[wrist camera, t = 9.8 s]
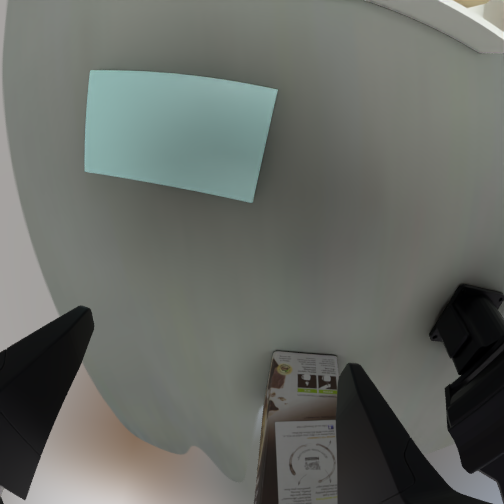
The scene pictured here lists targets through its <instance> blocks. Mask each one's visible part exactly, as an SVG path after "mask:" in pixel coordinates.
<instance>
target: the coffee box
mask: <svg viewBox="0 0 504 504" xmlns="http://www.w3.org/2000/svg"><path fill="white" fill-rule="evenodd" d="M338 379H339V372H338V362H337V357H336V356H330V355H315V354H303V353H292V352H282V351H275V352H274V353H273V356H272V361H271V367H270V372H269V378H268V383H267V388H266V393H265V398H264V407H263V418H262V428H261V439H260V449H259V459H258V469H257V480H256V490H255V500H254V504H337V445H336V406H337V389H338Z"/></svg>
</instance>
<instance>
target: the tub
mask: <svg viewBox="0 0 504 504" xmlns="http://www.w3.org/2000/svg"><path fill="white" fill-rule="evenodd" d="M364 1H367V2H370V3H373V4H376V5H379V6H382V7H384V8H387V9H390V10H392V11H395V12H397V13H400V14H402V15H405V16H407V17H410V18H412V19H414V20H417V21H419V22H421V23H423V24H425V25H428V26H430V27H432V28H434V29H436V30H438V31H440V32H442V33H444V34H446V35H448V36H450V37H452V38H453V39H455V40H457V41H459V42H461V43H463V44H464V45H466V46H468V47H470V48H471V49H473V50H475V51H476V52H478V53H504V0H364Z"/></svg>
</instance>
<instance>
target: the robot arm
mask: <svg viewBox="0 0 504 504" xmlns="http://www.w3.org/2000/svg"><path fill="white" fill-rule="evenodd" d="M462 290H463V291H462ZM503 300H504V295H503V293H500V292H496V291H492V290H487V289H483V288H479V287H474V286H470V285H466V284H463V285H461V286H459V288H458V289H457V291H456V293H455V294H454V296H453V298H452V300H451V301H450V303H449V305H448V306H447V308H446V309H445V311H444V313H443V314H442V316H441V317H440V319H439V321H438V322H437V324H436V325H435V327H434V328H433V330H432V331H431V333H430V335H429V337H430V339H431V340H432V341H440V342H443V343H444V345H445V348H446V350H447V352H448V355H449V357H450V358H452V360H453V362H454V365H455V367H456V370H457V372H458V375H461V376H460V377H459V378H458V379H457V380H455V381H454V382H453V383H452V384H449V385H448V386H447V387H446V388H445V397H446V412H447V427H448V431H449V433H450V435H451V436H452V438H453V439H454V441H455V444H456V446H457V448H458V452H459V455H460V459H461V464H462V467H463V468H464V469H465V470H466V471H467V472H468V473H470V474H472V473H474V472H475V471H480V472H481V473H483V474H484V475H486V476H488V477H489V478H491V479H493V480H494V481H496V482H497V484H498V487H499V490H500V493H501V497H502V500H503V503H504V319H503V317H502V316H501V314H500V313H499V311H498V308H499V307H500V305H501V304H502V302H503ZM93 330H94V321H93V316H92V312H91V309H90V308H88V307H85V306H78V307H76V308H74V309H73V310H71V311H69V312H67V313H66V314H64V315H62V316H60V317H59V318H57V319H55V320H54V321H52V322H50V323H48V324H47V325H45V326H43V327H42V328H40V329H39V330H37V331H35V332H33V333H32V334H30V335H28V336H27V337H25V338H23V339H22V340H20V341H18V342H17V343H15V344H13V345H12V346H10V347H8V348H7V350H3V351H2V352H0V504H4V503H3V501H2V498H1V494H2V492H3V489H4V488H5V489H7V490H9V491H10V492H12V493H13V494H15V495H17V496H19V497H20V498H22V499H24V500H25V499H26V497H27V494H28V491H29V488H30V485H31V482H32V479H33V477H34V473H35V471H36V468H37V466H38V463H39V460H40V457H41V456H40V455H41V454H42V452H43V449H44V447H45V444H46V442H47V439H48V437H49V434H50V432H51V429H52V427H53V425H54V422H55V420H56V417H57V415H58V413H59V411H60V408H61V406H62V404H63V402H64V400H65V397H66V395H67V393H68V391H69V388H70V387H71V384H72V382H73V380H74V378H75V376H76V374H77V372H78V370H79V367H80V365H81V363H82V360H83V357H84V355H85V352H86V349H87V346H88V344H89V341H90V338H91V336H92V333H93ZM336 445H337V504H492V503H488V502H485V501H482V500H478V499H475V498H472V497H469V496H466V495H463V494H460V493H458V492H456V491H455V490H453V489H452V488H451V487H450V486H449V485H448V484H447V483H446V482H445V481H444V479H443V478H442V477H441V476H440V475H439V474H438V472H437V471H436V470H435V469H434V468H433V466H432V465H431V464H430V463H429V462H428V460H427V459H426V458H425V457H424V455H423V454H422V453H421V451H420V450H419V448H418V447H417V446H416V444H415V443H414V441H413V440H412V438H410V436H409V434H408V433H407V431H406V430H405V428H404V427H403V425H402V424H401V422H400V421H399V420H398V418H397V417H396V415H395V414H394V412H393V411H392V409H391V408H390V407H389V405H388V404H387V402H386V401H385V399H384V398H383V396H382V395H381V394H380V392H379V391H378V389H377V388H376V386H375V385H374V384H373V382H372V381H371V379H370V378H369V377H368V375H367V374H366V372H365V371H364V369H363V368H362V367H361V365H359V364H356V363H348V364H347V365H346V367H345V368H344V370H343V372H342V373H341V375H340V377H339V379H338V389H337V406H336Z"/></svg>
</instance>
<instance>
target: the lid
mask: <svg viewBox="0 0 504 504" xmlns="http://www.w3.org/2000/svg"><path fill="white" fill-rule="evenodd" d="M277 91H278V89H274V88H269V87H264V86H259V85H254V84H249V83H243V82H237V81H231V80H225V79H218V78H211V77H204V76H196V75H187V74H177V73H166V72H152V71H132V70H90V77H89V87H88V97H87V110H86V127H85V172H91V173H97V174H103V175H109V176H115V177H121V178H127V179H133V180H139V181H144V182H150V183H155V184H161V185H166V186H171V187H177V188H182V189H187V190H192V191H197V192H202V193H207V194H212V195H217V196H221V197H226V198H231V199H236V200H240V201H245V202H249V203H253V199H254V194H255V190H256V185H257V181H258V176H259V172H260V167H261V163H262V158H263V154H264V149H265V145H266V140H267V136H268V131H269V127H270V122H271V118H272V113H273V109H274V105H275V100H276V96H277Z"/></svg>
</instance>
